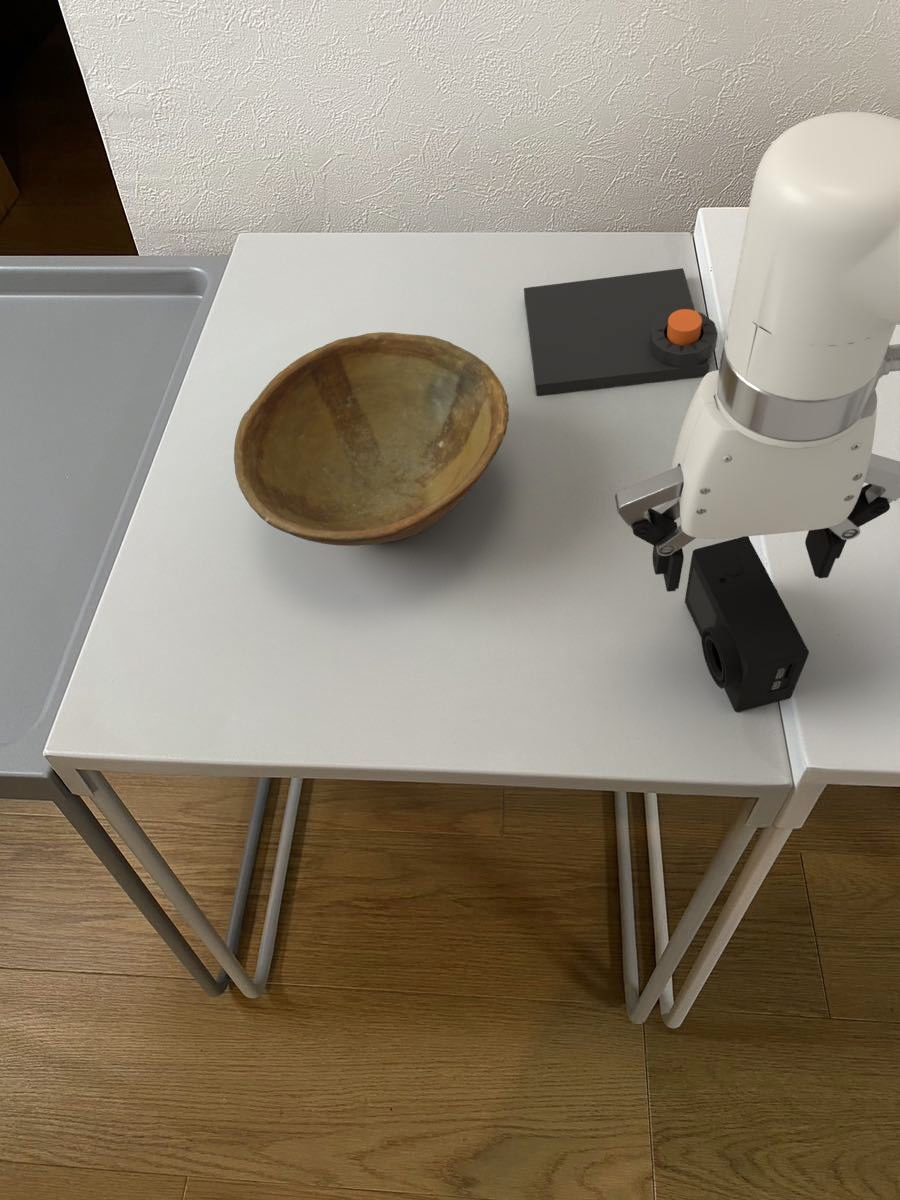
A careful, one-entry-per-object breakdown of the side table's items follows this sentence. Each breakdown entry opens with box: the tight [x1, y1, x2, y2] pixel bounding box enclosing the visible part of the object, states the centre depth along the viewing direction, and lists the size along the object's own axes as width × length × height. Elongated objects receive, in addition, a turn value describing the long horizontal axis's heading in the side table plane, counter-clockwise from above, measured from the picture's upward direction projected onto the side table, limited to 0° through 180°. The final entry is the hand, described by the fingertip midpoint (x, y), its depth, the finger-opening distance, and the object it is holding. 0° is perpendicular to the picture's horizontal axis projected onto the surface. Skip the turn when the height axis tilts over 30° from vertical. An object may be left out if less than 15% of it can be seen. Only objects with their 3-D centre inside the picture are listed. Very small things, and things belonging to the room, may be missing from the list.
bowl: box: [233, 331, 510, 547], centre depth 79 cm, size 22×23×10 cm
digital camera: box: [684, 536, 810, 713], centre depth 68 cm, size 10×5×7 cm, turn 13°
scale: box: [523, 267, 719, 396], centre depth 90 cm, size 17×14×3 cm
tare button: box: [667, 309, 702, 346], centre depth 85 cm, size 3×3×2 cm
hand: (741, 567), depth 62 cm, fingers open, 9 cm apart
